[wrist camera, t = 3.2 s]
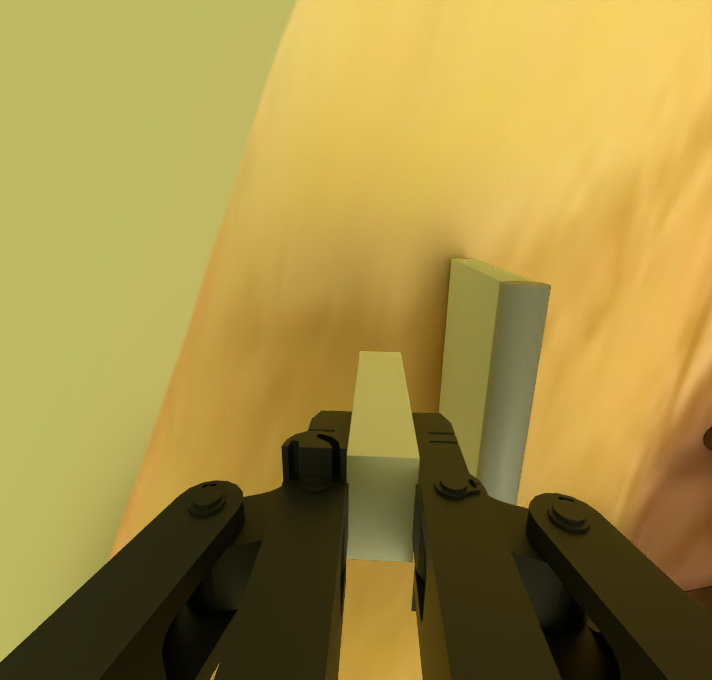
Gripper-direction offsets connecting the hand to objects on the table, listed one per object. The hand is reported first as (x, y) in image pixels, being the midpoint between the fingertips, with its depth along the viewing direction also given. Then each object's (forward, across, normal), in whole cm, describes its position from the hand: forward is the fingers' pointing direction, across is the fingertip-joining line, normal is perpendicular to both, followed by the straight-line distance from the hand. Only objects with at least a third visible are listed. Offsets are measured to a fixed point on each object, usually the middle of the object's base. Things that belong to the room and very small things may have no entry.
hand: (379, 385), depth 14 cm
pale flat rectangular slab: (+10, +5, -5) cm, 12 cm away
